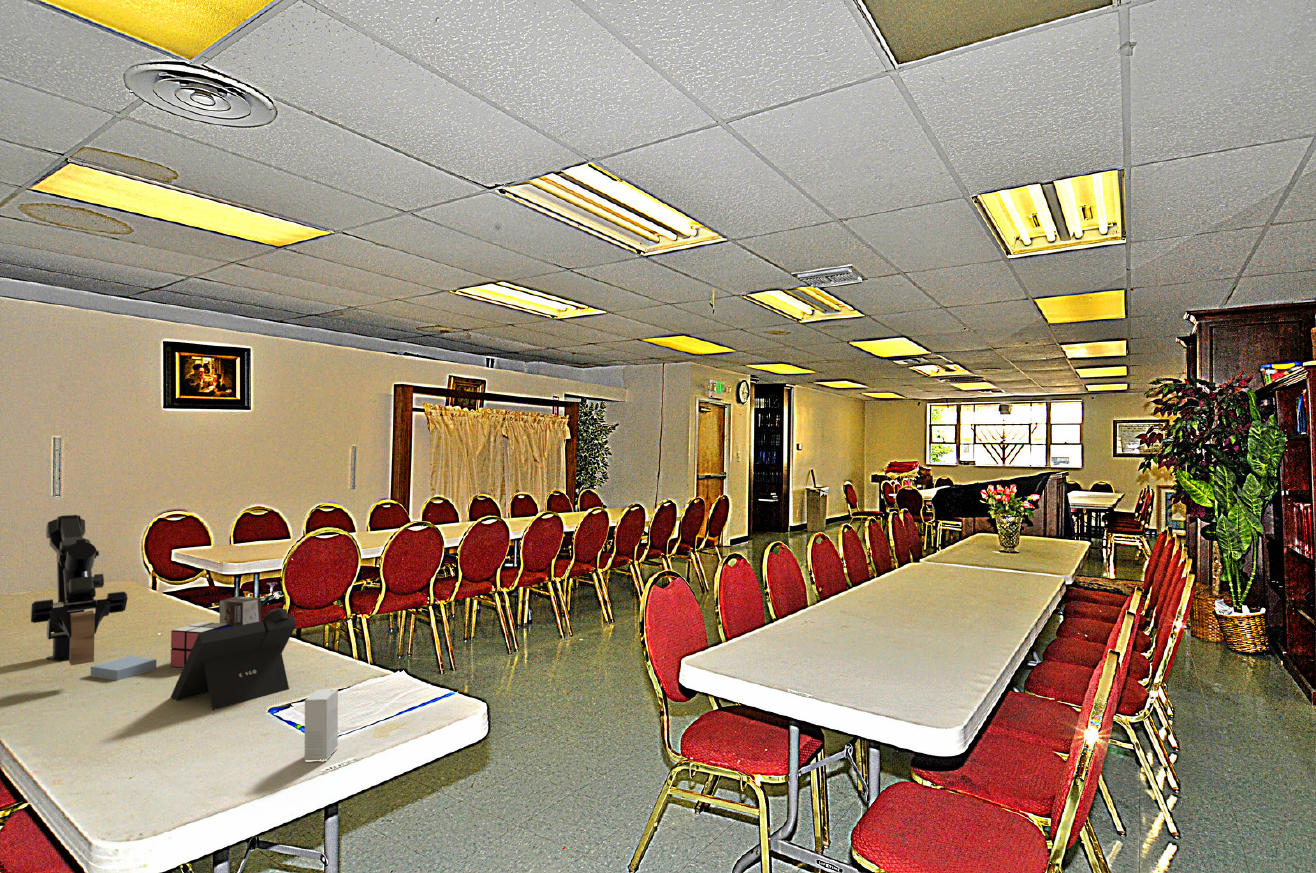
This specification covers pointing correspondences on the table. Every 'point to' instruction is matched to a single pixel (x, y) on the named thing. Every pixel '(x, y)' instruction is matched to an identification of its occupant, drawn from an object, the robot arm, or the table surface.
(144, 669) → the blue block
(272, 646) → the office phone
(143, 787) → the table surface
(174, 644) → the puzzle cube
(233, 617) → the coffee box
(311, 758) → the skincare box
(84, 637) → the walnut post
